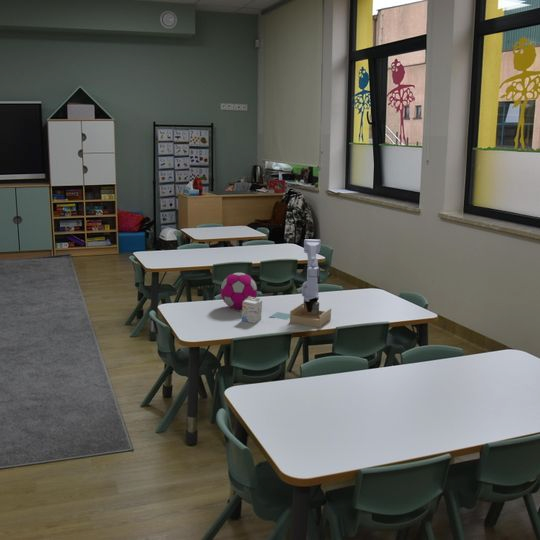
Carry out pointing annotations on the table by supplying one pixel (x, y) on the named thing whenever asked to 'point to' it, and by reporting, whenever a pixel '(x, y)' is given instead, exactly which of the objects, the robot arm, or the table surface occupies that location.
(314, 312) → the walnut block
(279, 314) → the teal mat
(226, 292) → the soccer ball
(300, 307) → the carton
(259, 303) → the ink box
